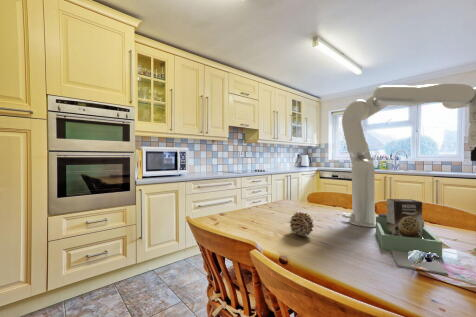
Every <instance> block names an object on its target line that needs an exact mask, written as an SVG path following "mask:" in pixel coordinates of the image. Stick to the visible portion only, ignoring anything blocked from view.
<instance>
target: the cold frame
mask: <svg viewBox="0 0 476 317" xmlns="http://www.w3.org/2000/svg"><path fill="white" fill-rule="evenodd" d="M375 221H376V227H375V234H376V236H377V240H378V241H379V242H378V243H379V245H380V248H381V250H384V251H385V250H386V251H391V250H394V251H401V252H409V251H413V250H419V251H422V252H426V253H429V252H431V253H436V254H437V255H438V256H439V257H441V258H440V259H443V242H442V241H441V240H440V239H439V238H438V237H437V236H436V235H435V234H434V233H432V232H431V231H430V230H429V229H428V228H427V227H426V226H425V221H424V220H423V219H422V237H423V238H424V239H420V238H411V237H403V236H395V235H387V213H378V214H377V215H375Z"/></svg>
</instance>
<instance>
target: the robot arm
mask: <svg viewBox="0 0 476 317" xmlns="http://www.w3.org/2000/svg"><path fill="white" fill-rule="evenodd" d="M429 103H441V104H442V106H443V107H445V108H446V109H449V110H452V109H455V110H456V109H462V108H467V107H468V123H469V127H468V136H467V145H468V147H469V148H470V161H471V162H476V86H475V87H473V86H472V85H470V84H464V83H434V84H424V85H381V86H378V87H376V89H375V90H374V91H373V94H372V95H371V96H370V97H369V98H367V99H366V100H364V99H356V100H354V101H353V102H351V103H350V104H348V105H347V107H346V108H345V109H344V112H343V114H342V119H341V126H342V132H343V135H344V136H343V137H344V140H345V144H346V145H345V146H346V150H347V152H348V155H349V158H350V162H351V191H352V192H351V197H352V198H351V199H352V200H351V201H352V203H351V206H352V207H351V208H352V212H351V213H350V212H349V213H346V212H345V213H344V212H343V213H342V218H345V219H348V222H349V224H352V225H354V226H358V227H362V228H363V227H364V228H376V211H375V210H376V208H375V207H376V205H375V200H376V198H375V196H376V195H375V192H376V190H375V176H376V175H375V174H376V173H375V171H376V169H375V165H374V162H373V158H372V156H371V153H370V148H369V144H368V142H367V140H366V137H365V134H364V130H363V126H362V121H364V120H367V119H368V118H370V117H372V116H374V115H375V114H377V113H379V112H380V111H382V110H383V109H384V108H386V107H388V106H389V105H391V106H403V107H405V106H407V107H414V106H419V105H420V106H421V105H422V104H423V105H424V104H429Z"/></svg>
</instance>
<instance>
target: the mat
mask: <svg viewBox="0 0 476 317" xmlns="http://www.w3.org/2000/svg"><path fill="white" fill-rule="evenodd" d="M390 252H391V255H392V257H393V259H394V261H395V263H396V266H397V267H399V268H404V269H409V270H414V271H415V270H416V269H415V267H413V266H412V264H414V263H413V262H410V261H409V260H408V252H401V251H394V250H390ZM414 265H416V266H418V267H423V268H426V269H428V270H429V271H432V272H433V273H432V272H431V273H432V274H439V275H442V276H443V275H444V276H449V272H448V271H447V270H446V269H445V268H444V267H443V266H442V265H441V263H440V262H439V261H438V260H437V259H436V258H435V260H434V261H432V262H427V263H426V262H421V263H418V264H414ZM416 271H417V270H416Z"/></svg>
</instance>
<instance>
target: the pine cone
mask: <svg viewBox="0 0 476 317" xmlns="http://www.w3.org/2000/svg"><path fill="white" fill-rule="evenodd" d="M313 223H314V219H312V216H310V214H308V212H306V213H303V212H301V211H299V212H296V213H294V214H293V215H292V216H291V217H290V220H289V224H290V225H289V227H290V229H291V231H292V232H293V233H294V234H295V235H297V236H301V237H306V236H309V235H311V233H312V232H314V230H313V228H315V226H314V224H313Z"/></svg>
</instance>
